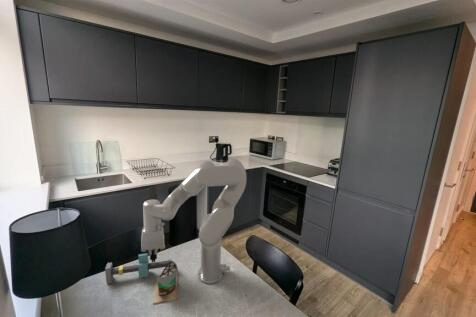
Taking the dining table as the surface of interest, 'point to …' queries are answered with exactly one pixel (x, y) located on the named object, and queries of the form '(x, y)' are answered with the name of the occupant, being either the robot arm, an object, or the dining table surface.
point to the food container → (167, 279)
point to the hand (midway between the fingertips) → (153, 260)
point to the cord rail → (129, 269)
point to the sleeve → (143, 265)
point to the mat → (165, 298)
